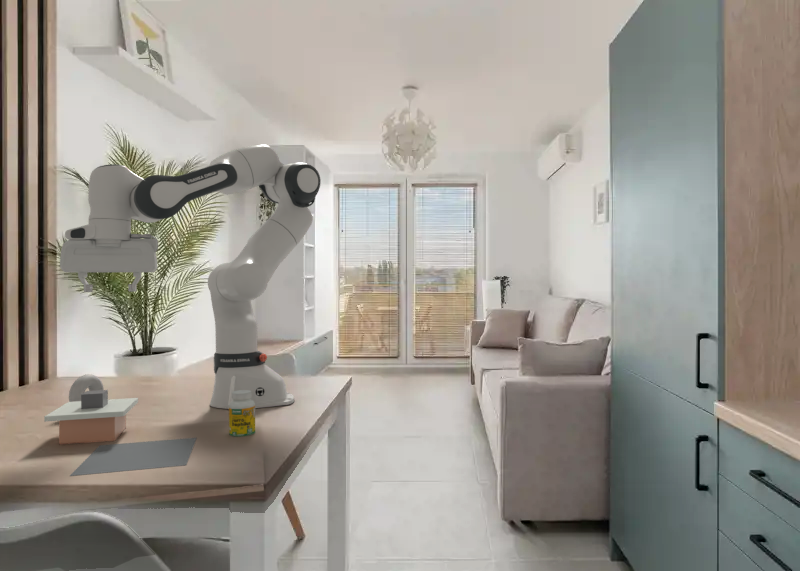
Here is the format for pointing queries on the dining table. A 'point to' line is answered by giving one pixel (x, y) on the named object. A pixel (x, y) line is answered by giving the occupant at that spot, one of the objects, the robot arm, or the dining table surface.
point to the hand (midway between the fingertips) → (110, 291)
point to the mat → (137, 456)
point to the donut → (84, 386)
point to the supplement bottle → (241, 414)
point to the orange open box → (91, 430)
